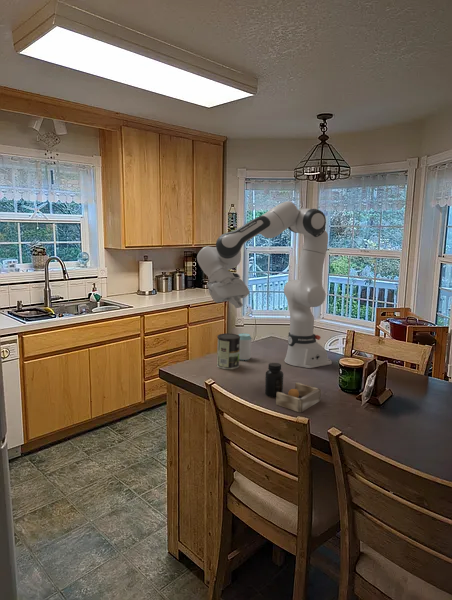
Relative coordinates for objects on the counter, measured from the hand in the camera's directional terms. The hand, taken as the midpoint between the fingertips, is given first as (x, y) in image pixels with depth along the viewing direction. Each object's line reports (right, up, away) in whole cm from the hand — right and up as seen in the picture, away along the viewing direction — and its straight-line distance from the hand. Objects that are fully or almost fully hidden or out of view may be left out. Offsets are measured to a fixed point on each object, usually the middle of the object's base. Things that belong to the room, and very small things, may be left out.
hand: (239, 306), depth 173 cm
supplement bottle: (+13, -34, -9) cm, 37 cm away
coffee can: (-5, -28, +23) cm, 36 cm away
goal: (+21, -35, -15) cm, 43 cm away
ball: (+20, -32, -13) cm, 40 cm away
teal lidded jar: (+3, -26, +34) cm, 43 cm away
